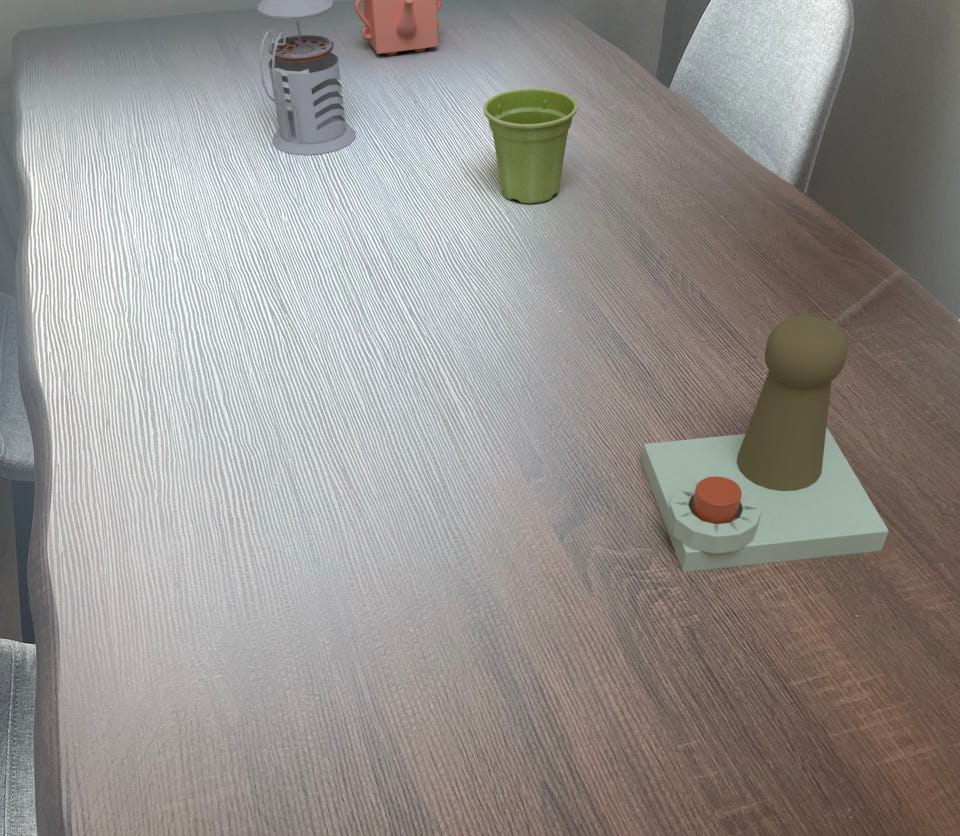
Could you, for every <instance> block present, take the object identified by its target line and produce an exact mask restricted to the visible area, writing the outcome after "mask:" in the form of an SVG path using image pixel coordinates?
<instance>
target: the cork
mask: <svg viewBox="0 0 960 836" xmlns="http://www.w3.org/2000/svg"><path fill="white" fill-rule="evenodd" d="M848 351H849V341H848V340H847V338H846V334H845V333H844V331H843V329H842V328H841V327H840V326H838V325H837V324H836V323H833V322H832V321H830V320H828V319H826V318H823V317H820V316H819V317H818V316H812V315H797V316H793V317H789V318H786V319H784V320H782V321H780V322H779V323H778V324H777V325H776V326H775V327H774V328H773V329H772V331H771V332H770V334H769V335H768V337H767V339H766V345H765V351H764V363H765V365H766V367H767V370H768V372H767V375H766V378H765V380H764V383H763V385H762V389H761V391H760V393H759V397H758V399H757V402H756V405H755V407H754V409H753V412H752V415H751V418H750V421H749V424H748V426H747V429H746V432H745V433H744V434H745V437H744V439H743V442H742V445H741V447H740V450H739V453H738V457H737V465H738V468H739V471H740V472H741V473H742V474H743V475H744V476H745V477H746V478H747V479H748V480H750V481H751V482H753V483H755V484H756V485H759V486H762V487H764V488H767V489H772V490H778V491H796V490H799V489H803V488H807V487H809V486H810V485H812V484H814V483H815V482H816V481H817V480H818V479H819V477H820V476H821V472H822V463H823V454H824V445H825V436H826V427H827V428H828V426H827V425H828V416H829V409H830V408H829V407H830V398H831V391H832V390H831V389H832V381H833V380H835V379H837V377H838V376H839V375H840V373H841V372H842V370H843V368H844V367H845V365H846V363H847V359H848Z"/></svg>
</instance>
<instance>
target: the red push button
mask: <svg viewBox="0 0 960 836" xmlns="http://www.w3.org/2000/svg"><path fill="white" fill-rule="evenodd" d="M741 494H742V492H741V489H740V487H739V485H738V484H737V483H735V482H734V481H732V480H730V479H728V478H724V477H718V476H714V477H708V478H705V479H703V480H701V481H700V482H699V483H698V484H697V486H696V489H695V495H694V501H693V507H692V509H693V513H694V514H695V516H696V517H697V518H699V519H700V520H702V521H705V522H709V523H713V524H723V523H729V522H731V521H733V520H734V519H735V518H736V516H737V513H738V509H739V504H740V499H741Z"/></svg>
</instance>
